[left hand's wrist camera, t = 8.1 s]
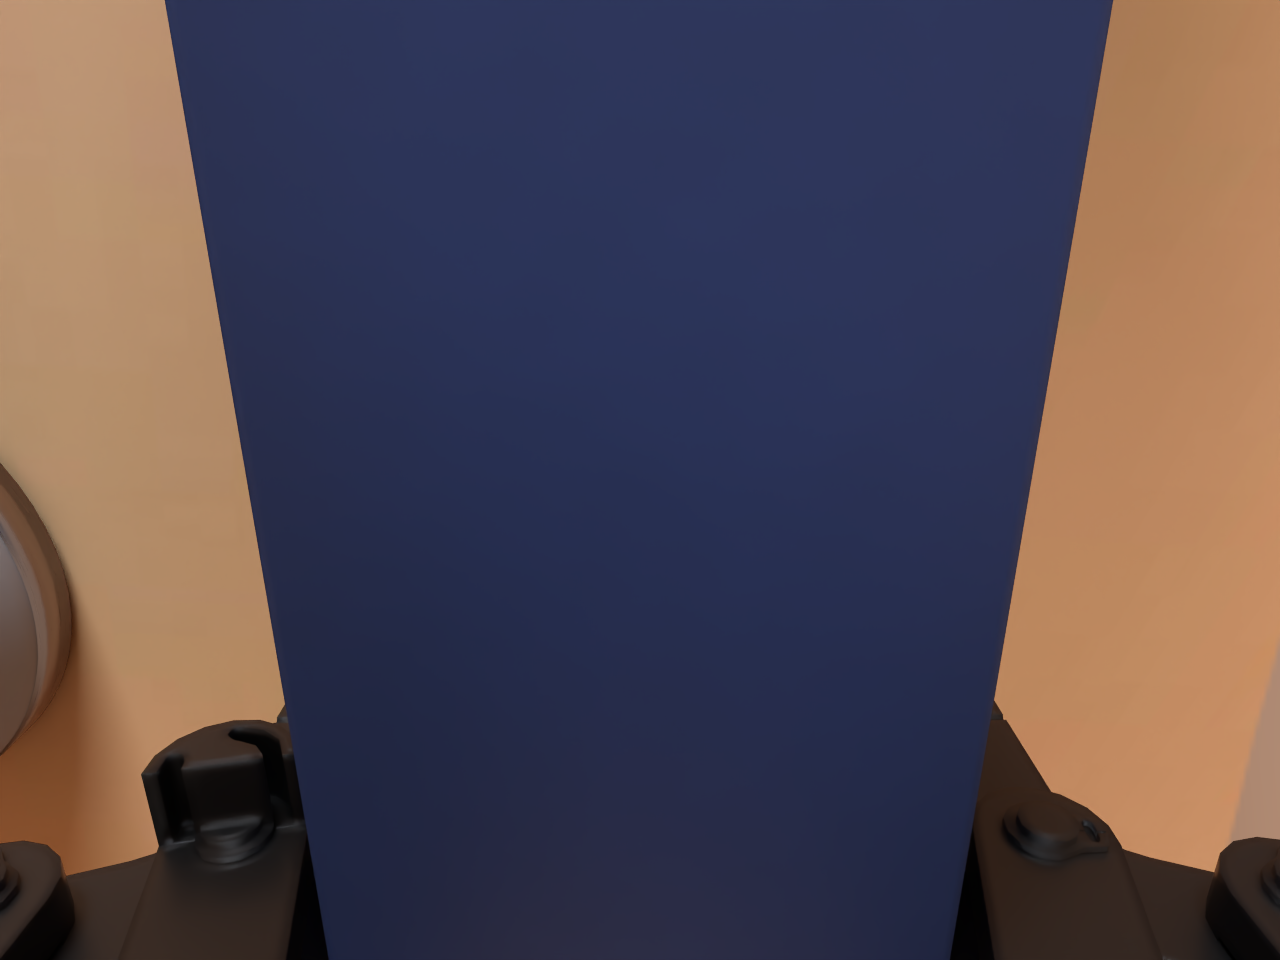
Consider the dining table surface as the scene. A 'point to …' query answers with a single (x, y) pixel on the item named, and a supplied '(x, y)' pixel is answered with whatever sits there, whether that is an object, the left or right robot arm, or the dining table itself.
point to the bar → (639, 446)
